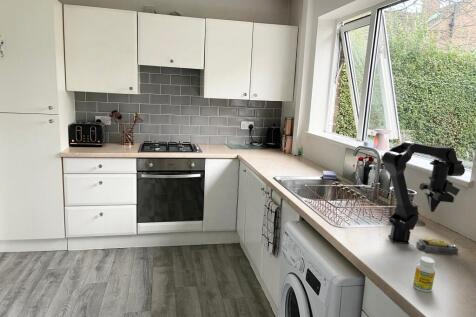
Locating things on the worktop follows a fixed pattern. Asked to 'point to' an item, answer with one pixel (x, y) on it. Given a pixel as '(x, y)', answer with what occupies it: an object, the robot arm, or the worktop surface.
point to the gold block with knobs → (435, 242)
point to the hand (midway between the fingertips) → (431, 211)
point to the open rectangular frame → (437, 248)
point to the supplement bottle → (424, 274)
